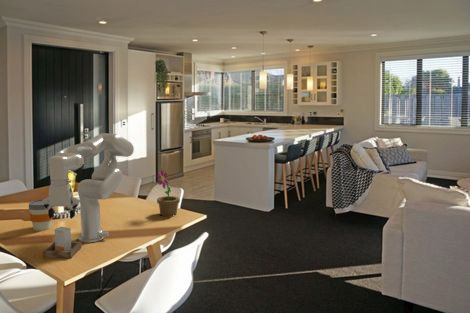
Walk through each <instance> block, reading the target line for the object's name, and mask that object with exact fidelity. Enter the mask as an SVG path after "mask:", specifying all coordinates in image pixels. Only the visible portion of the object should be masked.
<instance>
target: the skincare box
mask: <svg viewBox="0 0 470 313" xmlns="http://www.w3.org/2000/svg"><path fill="white" fill-rule="evenodd" d="M71 233H72V232H71V228H70V227H66V226H59V227H56V228H55V229H54V242H55V250H54V251H70V250H71V242H72V234H71Z"/></svg>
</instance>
